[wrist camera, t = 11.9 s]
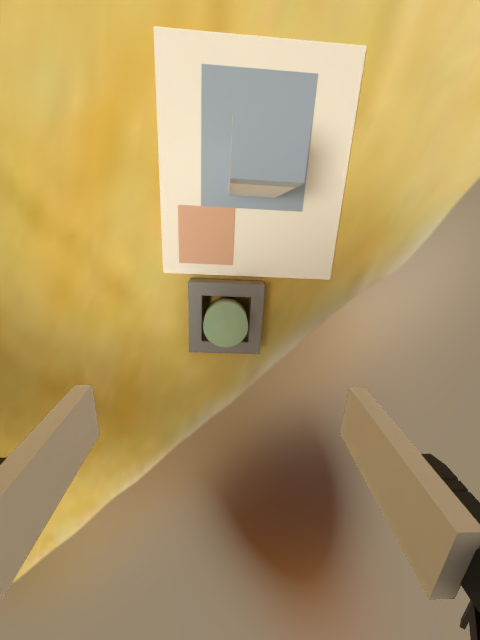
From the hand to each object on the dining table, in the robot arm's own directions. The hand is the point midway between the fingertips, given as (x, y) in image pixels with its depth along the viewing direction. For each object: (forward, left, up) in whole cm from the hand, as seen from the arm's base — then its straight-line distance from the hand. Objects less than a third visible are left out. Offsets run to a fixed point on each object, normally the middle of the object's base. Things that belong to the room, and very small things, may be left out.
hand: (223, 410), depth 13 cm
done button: (0, 0, -15) cm, 15 cm away
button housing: (0, 0, -16) cm, 16 cm away
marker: (+2, +13, -15) cm, 20 cm away
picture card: (+2, +13, -16) cm, 21 cm away
